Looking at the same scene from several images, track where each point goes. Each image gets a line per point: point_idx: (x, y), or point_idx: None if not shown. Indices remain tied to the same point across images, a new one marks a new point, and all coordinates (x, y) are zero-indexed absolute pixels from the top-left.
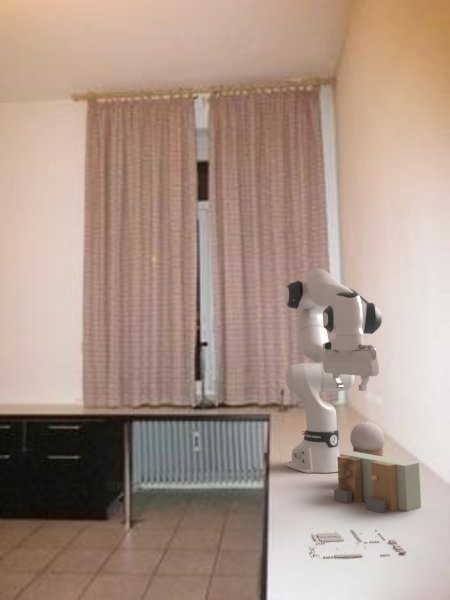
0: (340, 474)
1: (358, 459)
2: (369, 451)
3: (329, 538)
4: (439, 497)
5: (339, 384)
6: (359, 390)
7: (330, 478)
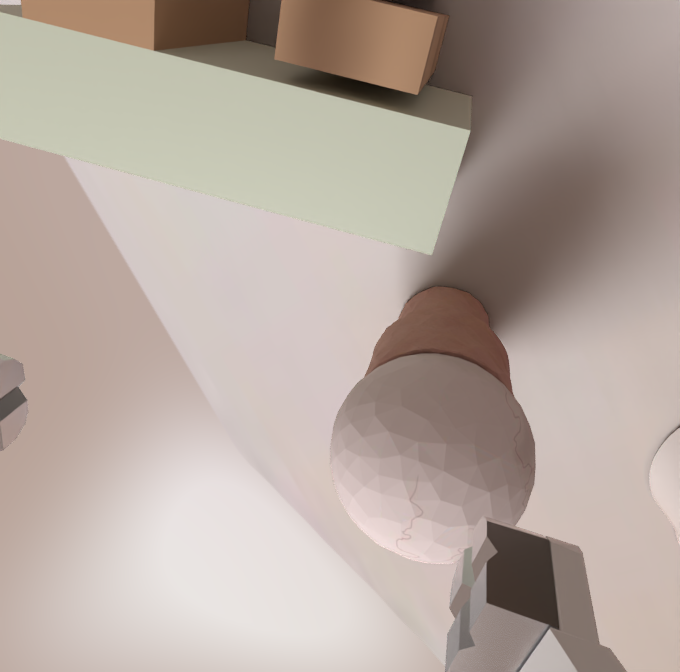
0: (424, 11)
1: (278, 32)
2: (390, 356)
3: None
4: (148, 272)
5: (481, 580)
6: (16, 362)
7: (649, 338)
